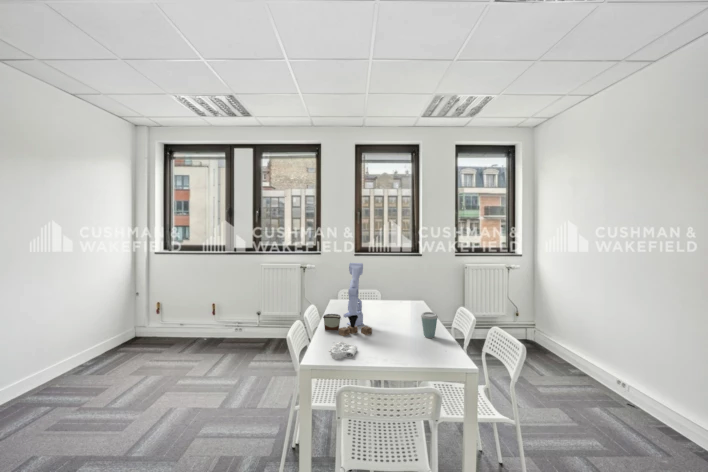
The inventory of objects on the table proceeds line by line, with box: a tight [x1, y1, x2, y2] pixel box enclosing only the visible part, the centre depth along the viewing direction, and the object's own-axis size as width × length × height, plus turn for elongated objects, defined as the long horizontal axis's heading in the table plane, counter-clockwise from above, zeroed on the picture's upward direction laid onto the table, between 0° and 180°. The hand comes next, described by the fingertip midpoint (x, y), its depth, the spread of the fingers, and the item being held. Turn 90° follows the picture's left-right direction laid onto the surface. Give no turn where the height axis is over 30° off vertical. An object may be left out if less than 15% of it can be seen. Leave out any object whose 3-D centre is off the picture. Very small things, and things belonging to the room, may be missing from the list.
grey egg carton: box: [328, 341, 358, 360], centre depth 187 cm, size 3×18×15 cm
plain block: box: [346, 325, 359, 335], centre depth 223 cm, size 5×5×4 cm
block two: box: [338, 326, 350, 337], centre depth 218 cm, size 5×5×4 cm
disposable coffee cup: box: [420, 311, 438, 339], centre depth 218 cm, size 11×11×15 cm
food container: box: [322, 313, 342, 332], centre depth 228 cm, size 12×6×10 cm, turn 84°
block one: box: [360, 325, 373, 336], centre depth 222 cm, size 5×5×4 cm
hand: (352, 326), depth 223 cm, fingers closed
